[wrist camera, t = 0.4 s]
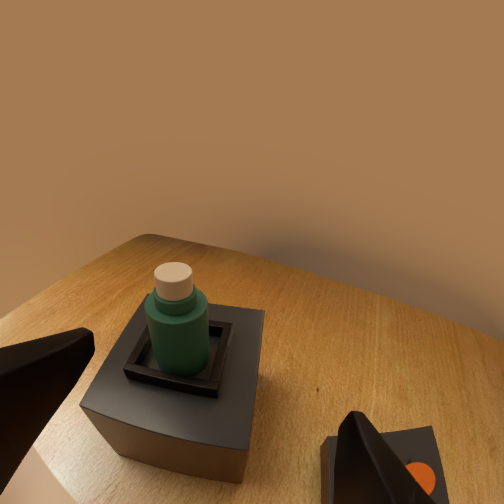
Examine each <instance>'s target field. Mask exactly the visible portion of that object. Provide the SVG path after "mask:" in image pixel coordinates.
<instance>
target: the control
mask: <svg viewBox="0 0 504 504" xmlns="http://www.w3.org/2000/svg"><path fill="white" fill-rule="evenodd" d="M379 434H380V435H381V436H382V438H383V439H384V440H385V441H386V443H387V444H388V445H389V446H390V448H391V449H392V450H393V452H394V453H395V454H396V455H397V457H398V458H399V459H400V460H401V462H402V463H403V464H404V465H405V466H406V465H408V464H411V463H415V462H419V463H424V464H426V465H428V466H429V467H430V468H431V469H432V470H433V472H434V475H435V486H434V489H433V491H432V492H431V494H430V495H429V496H430V497H431V498H432V499H433V500H434V501H435V502H436V504H449V499H448V493H447V488H446V482H445V477H444V473H443V468H442V464H441V459H440V455H439V451H438V447H437V443H436V439H435V436H434V432H433V429H432V426H426V427H421V428H415V429H409V430H402V431H395V432H386V433H379ZM337 438H338V436H327V438H326V439H325V441H324V442H323V443H322V445H321V446H320V454H321V504H333V498H334V464H335V456H336V447H337Z"/></svg>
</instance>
